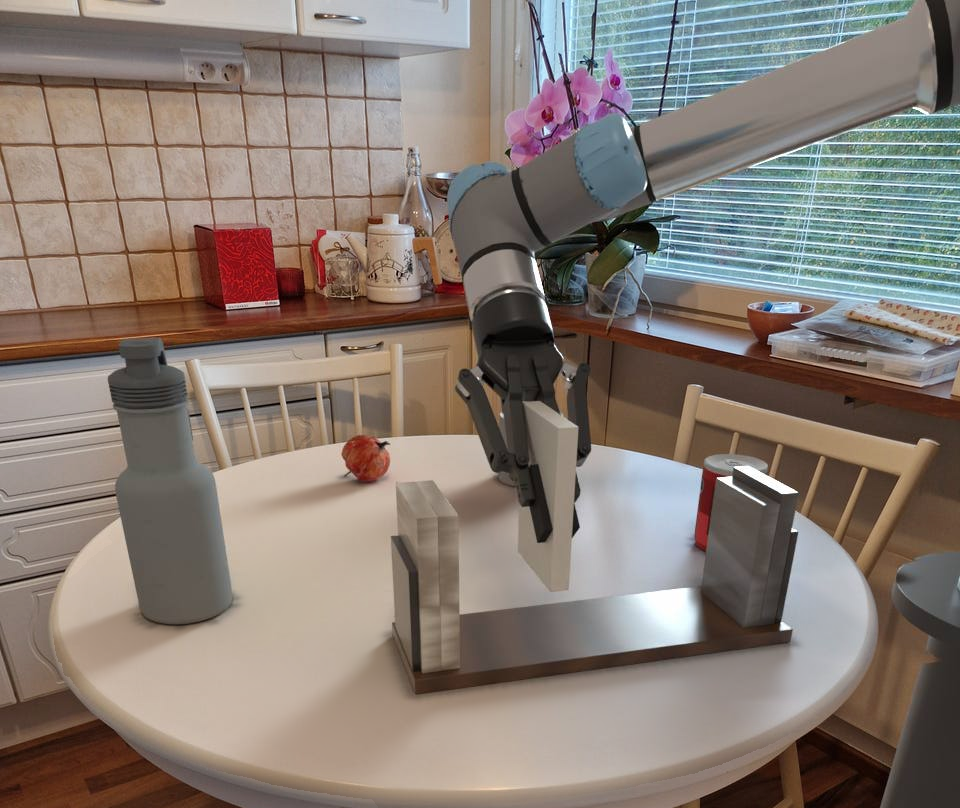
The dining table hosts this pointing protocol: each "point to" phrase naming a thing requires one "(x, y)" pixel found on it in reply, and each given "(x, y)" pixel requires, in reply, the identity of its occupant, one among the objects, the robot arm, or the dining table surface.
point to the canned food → (711, 470)
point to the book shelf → (593, 622)
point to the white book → (550, 493)
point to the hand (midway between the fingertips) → (558, 534)
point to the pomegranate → (366, 457)
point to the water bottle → (166, 493)
